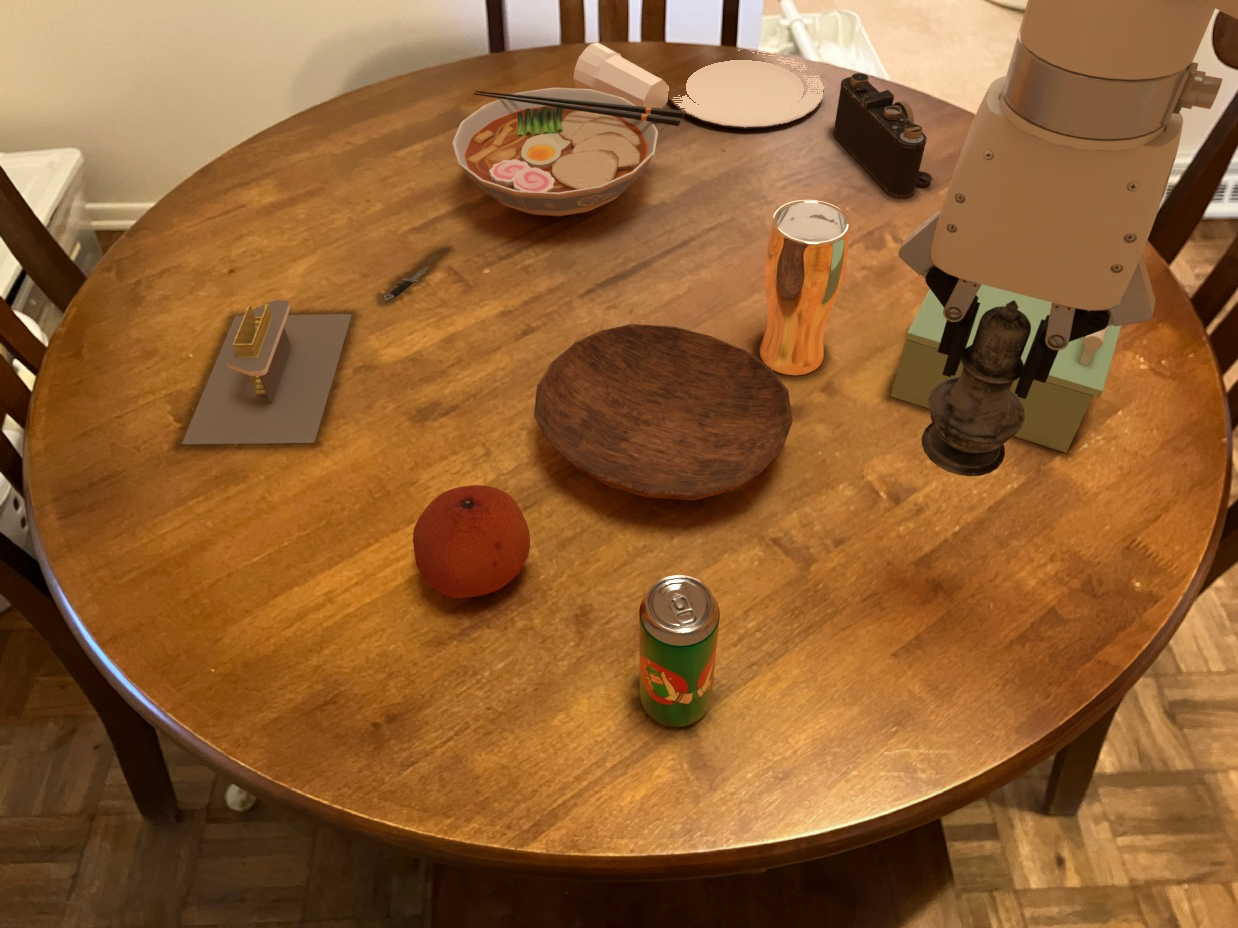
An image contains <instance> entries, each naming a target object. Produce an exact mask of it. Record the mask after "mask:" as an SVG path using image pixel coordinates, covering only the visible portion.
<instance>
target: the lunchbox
mask: <svg viewBox="0 0 1238 928" xmlns="http://www.w3.org/2000/svg"><path fill="white" fill-rule="evenodd" d="M903 344H904V345H903V348H902V352H901V356H900V359H899V364H898V367H897V372H896V375H895V378H894V382H893V386H892V390H891V392H890V393H891V394H890V397H891V398H895V399H897V400H901V401H904V402H907V403H910V404H913V405H916V406H920V407H921V408H926V409H928V410H929V407H928V399H929V396H930V394H931V391H932V390H933V389H934V388H935V386H936V385H937V384H939V383H941V382H943V381H944V380H946V379H950V378H954V377H958V376H961V373H962V370H963V367H964V366H963V364H962V360H961V362H960V364H959V367H958V369H957V372H956V374H955V376H953V375H951V377H948V376H944V375H942V374H943V370H944V367H945V364H946V361H947V357H948V355H945V354H942V353H938V349H936V348H933V347H930V346H927V345H923V344H920V343H917V342H913V341H910V340H907V339H906V338H905V340H904V343H903ZM1019 378H1020V377H1019ZM1019 378H1018V379H1016V380H1015V381H1013V384H1012V386H1011V389H1010V391H1011V392H1013V393H1015V390H1016V387H1017V384H1018V381H1019ZM1014 395H1015V396H1016V397H1017V394H1014ZM1017 398H1018V399H1019V400H1020V402H1021V404H1022V406H1023V408H1024V412H1025V420H1024V423H1023V426H1022V428H1021V429H1020V430H1019V431H1018V433H1017V434H1015V435H1014V436H1013V437H1015V438H1018V439H1022V440H1025V441H1028V442H1030V443H1034V444H1037V445H1039V446H1044V447H1045V448H1050V449H1052V450H1055V451H1058V452H1062V453H1068V450H1069V448H1070V446H1071V443H1073V442H1072V441H1073V439H1074V438H1075V435H1076V434H1077V432H1078V429H1079V427H1080V425H1081V423H1082V422H1083V421H1082V420H1083V419H1084V416H1085V414H1086V412H1087V411H1088V408H1089V406H1090V404H1091V402H1092V400H1093V398H1094V396H1092V395H1089V394H1086V393H1082V392H1079V391H1076V390H1072V389H1069V388H1066V387H1062V386H1059V385H1056V384H1053V383H1049V382H1045V383H1043V382H1039V381H1036V380H1033V382H1032V385H1031V387H1030V390H1029V392H1028V395H1027V397H1026V399H1023V398H1019V397H1017Z"/></svg>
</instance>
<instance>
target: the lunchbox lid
mask: <svg viewBox="0 0 1238 928" xmlns="http://www.w3.org/2000/svg"><path fill="white" fill-rule="evenodd" d="M976 295H977V297H979V298H978V301H977V302H979V303H980V306H979V309H978V312H977V315H976V318H975V321H974V325H973V328H972V331H971V334H970V337H969V340H968V343H967V346H966V348H967V347H968V346H970V345H972V344H973V341H974V337H975V334H976V331H977V328H978V325H979V322H980V319H981V317H982V316H983V314H984V313H985V312H986V311H988V310H990V309H992V308H994V307H999V306H1005V307H1006V304H1007V303H1010V302H1011V301H1013V300H1014V301H1015V302H1016V303H1017V305H1018V309H1017V310H1019V311H1021V312H1022V313H1024V314H1025V315H1026V316H1027V318H1028V320H1029V322H1030V324H1031V332H1030V335H1029V338H1028V341H1027V343H1026V346H1025V349H1024V351H1023V354H1022V356H1021V360H1022V362H1023V365H1024V363H1025V361H1026V358H1027V356H1028V353H1029V350H1030V348H1031V345H1032V343H1033V340H1034V337H1035V335H1036V332H1037V330H1038V327H1039V324H1040V322H1041V319H1043V320H1045V319H1046V316H1047V315H1050V310H1051V304H1052V302H1049V301H1045V300H1041V299H1037V298H1033V297H1029V296H1025V295H1021V294H1017V293H1013V292H1010V291H1006V290H1002V289H998V288H995V287H991V286H987V285H983V284H982V285H981V286H980V288H979V290H978V292H977V294H976ZM943 310H944V307H943V306H942V304H941V303H940V302H939V300H938V299H937V298H936V296H935V295H934V293H933V292H932V291H931V289H930V288H929V289H928V291H927V293H926V295H925V297H924V298H923V301H922V303H921V305H920V307H919V308H918V311H917V313H916V315H915V317H914V319H913V321H912V322H911V324H910V327H909V329H908V331H907V333H906V336H905V340H906V339H907V340H910V341H913V342H917V343H920V344H923V345H927V346H930V347H933V348H936V349H938V348H939V345H940V342H941V338H942V335H943V331H944V328H945V325H946V321H947V319H946V318H945V317H944V315H943ZM1122 327H1123V325H1121V326H1115V327H1114V325H1112V326H1107V327H1106V328H1105V329H1103V330H1101V331H1099V332H1096V333H1093V334H1090V335H1087V336H1085V337H1082V338H1079V339H1076V340H1073V341H1071V342H1069V343H1068V346H1067V347H1066V348H1064V349H1062V350H1059V351H1058V354H1057V356H1056V358H1055V361H1054V363H1053V366H1052V368H1051V371H1050V373H1049V375H1048V378H1047V380H1046V382H1049V383H1053V384H1056V385H1059V386H1062V387H1066V388H1069V389H1072V390H1076V391H1079V392H1082V393H1086V394H1089V395H1092V396H1093V397H1095V398H1101V396H1102V394H1103V392H1104V389H1105V386H1106V382H1107V379H1108V376H1109V372H1110V369H1111V364H1112V361H1113V358H1114V354H1115V352H1116V347H1117V344H1118V340H1119V337H1120V333H1121V329H1122Z"/></svg>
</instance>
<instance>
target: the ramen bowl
mask: <svg viewBox="0 0 1238 928" xmlns="http://www.w3.org/2000/svg"><path fill="white" fill-rule="evenodd" d="M473 95H475V96H480V97H486V98H494V99H496V100H494V101H491V102H488V103H486V104H483V105H482V106H481V107H479V108H478V109H477V110H475V111H474V112H473V113H471V114H470V115H469V116H467V117H466V118H465V119H463V120H462V121H461V122H460V124H459V126H458V128H457V131H456V133H455V134H454V138H453V140H452V142H451V143H452V147H453V150H454V151H453V152H454V153H455V157H456V160H457V164H458V165H459V167H460V168H461V169H462V170H463V172H464V174H465V175H466V176H467V177H468V178H469V179H470V180H471V181H472V182H473V183H474V184H475V185H476V186H478V187H479V188H480V189H481V190H483V191H484V192H485V193H487V194H488V195H489V196H490V197H492V198H493V199H494V200H496V201H497V202H498V203H500V204H501V205H503V206H505V207H508V208H511V209H514V210H517V211H520V212H523V213H526V214H529V215H533V216H548V217H549V216H552V217H563V216H564V217H565V216H569V215H570V216H571V215H575V214H582V213H587V212H591V211H592V210H595V209H597V208H599V207H601V206H603V205H605V204H608V203H610V202H613V201H615V200H617V199H618V198H619V196H620V195H622V194H623V193H624V192H625V191H626V189H628V188H629V187H630V186H631V185H632V184H633V183H634V182H635V181H636V180H638V178H639V177H640V176H641V175H642V173H643V172H644V171H645V170H646V168H647V167H648V165H649V164H650V162H651V161H652V158H653V157H654V156H655V153H656V148H657V142H658V136H659V130H658V128H657V127H656V125H655V123H657V124H663V125H669V126H674V127H680V125H681V119H684V118H685V113H684V111H683V110H679V109H673V108H664V109H662V108H648V107H641V106H636V105H634V104H633V103H631V102H629V101H628V100H626V99H624V98H622V97H618V96H614V95H611V94H607V93H603V92H599V91H596V90H592V89H576V88H575V87H574V88H573V87H547V88H541V89H540V88H539V89H533V90H527V91H519V92H515V93H505V92H504V93H503V92H495V91H493V92H491V91H483V90H475V92H473ZM649 114H652V115H649ZM657 115H660V116H657Z"/></svg>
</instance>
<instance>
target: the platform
mask: <svg viewBox="0 0 1238 928" xmlns="http://www.w3.org/2000/svg"><path fill="white" fill-rule="evenodd" d="M290 311H291V304H290V302H289V300H287V299H279V300H278V299H276V300H271V301H270V302H267V303H264V304H262V305H260V306H258V307H256V308H254V309H253V308H252V306H251V304H248V306H247V308H246V311H245V312H244V314H243V315H234V317H233V320H232V323H231V324H230V327H229V330H228V332H227V334H226V337H225V339H224V342H223V344H222V346H221V349H220V351H219V353H218V355H217V358H216V361H215V363H214V365H213V368H212V370H211V372H210V375H209V377H208V380H207V382H206V385H205V387H204V390H203V392H202V394H201V396H200V399H199V401H198V404H197V406H196V408H195V411H194V413H193V416H192V417H191V420H190V422H189V425H188V428H187V431H186V432H185V435H184V437H183V440H182V442H181V445H256V444H257V445H259V444H265V445H267V444H315V443H316V440H317V436H318V432H319V429H320V426H321V422H322V420H323V416H324V412H325V408H326V405H327V401H328V398H329V396H330V392H331V389H332V384H333V381H334V378H335V374H336V371H337V368H338V364H339V360H340V357H341V354H342V351H343V348H344V343H345V340H346V337H347V333H348V331H349V326H350V323H351V319H352V317H353V313H332V314H331V313H329V314H327V313H326V314H323V313H322V314H289V313H290Z"/></svg>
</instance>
